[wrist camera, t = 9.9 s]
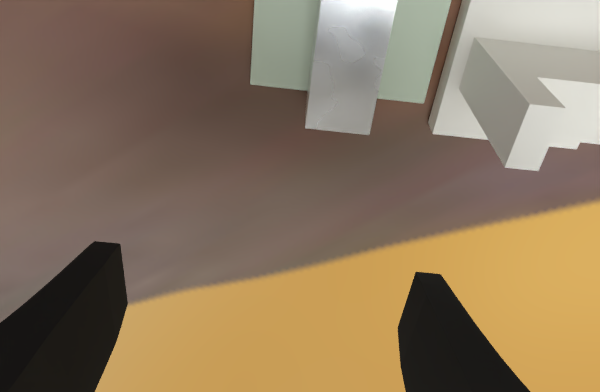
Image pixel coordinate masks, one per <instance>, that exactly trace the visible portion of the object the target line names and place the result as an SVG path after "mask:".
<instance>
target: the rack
mask: <svg viewBox="0 0 600 392" xmlns="http://www.w3.org/2000/svg"><path fill="white" fill-rule="evenodd" d="M428 124H429V126H430V129H431V131H432V134H438V135H448V136H457V137H466V138H476V139H485V140H489V142H490V143H491V145H492V147H493V148H494V150H495V152H496V153H497V155H498V157H499V159H500V160H501V162H502V164H503V165H504V167H506V168H515V169H525V170H534V171H538V170H539V168H540V166H541V164H542V161H543V159H544V157H545V155H546V152H547V150H548V148H549V146H551V147H560V148H569V149H577V148H578V145H579V143H580V142H583V143H592V144H600V0H462V2H461V6H460V10H459V13H458V17H457V20H456V24H455V27H454V31H453V35H452V38H451V42H450V45H449V49H448V53H447V56H446V60H445V63H444V67H443V71H442V74H441V78H440V81H439V85H438V88H437V92H436V96H435V99H434V103H433V106H432V110H431V114H430V117H429V121H428Z"/></svg>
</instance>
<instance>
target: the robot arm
mask: <svg viewBox="0 0 600 392" xmlns="http://www.w3.org/2000/svg"><path fill="white" fill-rule="evenodd" d="M127 304H128V302H127V294H126V286H125V278H124V270H123V262H122V254H121V246H120V244H117V243H106V242H96V241H94V242H93V243H92V244H91V245H89V246H88V247H87V248H86V249H85V250H84V251H83V252H82V253H81V254H80V255H78V256H77V257H76V258H75V259H74V260H73V261H72V262H71V263H70V264H69V265H68V266H67V267H65V268H64V269H63V270H62V271H61V272H60V273H59V274H58V275H57V276H55V277H54V278H53V279H52V280H51V281H50V282H49V283H48V284H46V285H45V286H44V287H43V288H42V289H41V290H40V291H38V292H37V293H36V294H35V295H34V296H33V297H31V298H30V299H29V300H28V301H27V302H26V303H24V304H23V305H22V306H21V307H20V308H18V309H17V310H16V311H15V312H13V313H12V314H11V315H10V316H8V317H7V318H6V319H5V320H3V321H2V322H1V323H0V392H95V390H96V387H97V385H98V383H99V380H100V378H101V376H102V374H103V372H104V369H105V367H106V365H107V362H108V360H109V358H110V355H111V353H112V351H113V348H114V346H115V343H116V341H117V338H118V335H119V331H120V328H121V325H122V321H123V318H124V314H125V311H126V307H127ZM398 337H399V351H400V362H401V369H402V375H403V380H404V385H405V390H406V392H530V391H529V390H528V389H527V387H526V386H525V385H524V384H523V383H522V382H521V381H520V379H519V378H518V377H517V376H516V375H515V374H514V372H513V371H512V370H511V369H510V368H509V366H508V365H507V364H506V363H505V362H504V360H503V359H502V358H501V357H500V356H499V354H498V353H497V352H496V351H495V349H494V348H493V346H492V345H491V344H490V343H489V341H488V340H487V338H486V337H485V336H484V335H483V333H482V332H481V331H480V329H479V328H478V327H477V325H476V324H475V323H474V322H473V320H472V318H471V317H470V316H469V314H468V313H467V311H466V310H465V308H464V307H463V306H462V304H461V303H460V301H459V300H458V298H457V297H456V296H455V294H454V293H453V292H452V290H451V288H450V287H449V286H448V284H447V283H446V281H445V280H444V279H443V277H442V276H441V275H440V274H433V273H422V272H416V273H415V276H414V279H413V282H412V285H411V289H410V292H409V295H408V298H407V301H406V304H405V307H404V310H403V313H402V316H401V319H400V323H399V326H398Z"/></svg>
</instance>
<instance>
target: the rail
mask: <svg viewBox="0 0 600 392" xmlns="http://www.w3.org/2000/svg"><path fill="white" fill-rule="evenodd" d="M397 1H398V0H318V8H317V17H316V25H315V33H314V41H313V49H312V57H311V65H310V73H309V81H308V89H307V97H306V113H305V128H307V129H317V130H326V131H335V132H345V133H354V134H363V135H369V134H370V130H371V125H372V120H373V115H374V110H375V106H376V101H377V96H378V91H379V87H380V82H381V77H382V72H383V68H384V63H385V58H386V53H387V48H388V44H389V39H390V34H391V29H392V25H393V20H394V15H395V10H396V6H397Z"/></svg>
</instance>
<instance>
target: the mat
mask: <svg viewBox="0 0 600 392" xmlns="http://www.w3.org/2000/svg"><path fill="white" fill-rule="evenodd" d="M450 4H451V0H398V1H397V6H396V10H395V15H394V20H393V25H392V29H391V34H390V39H389V44H388V48H387V53H386V58H385V63H384V68H383V72H382V77H381V82H380V87H379V91H378V96H377V99H387V100H396V101H405V102H414V103H423V104H424V101H425V97H426V93H427V90H428V86H429V82H430V78H431V75H432V71H433V67H434V63H435V60H436V56H437V52H438V49H439V45H440V41H441V37H442V34H443V30H444V26H445V22H446V19H447V15H448V11H449V7H450ZM317 8H318V0H255V2H254V20H253V39H252V58H251V77H250V85H258V86H268V87H277V88H286V89H295V90H304V91H307V89H308V81H309V73H310V65H311V57H312V49H313V41H314V33H315V25H316V17H317Z"/></svg>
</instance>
